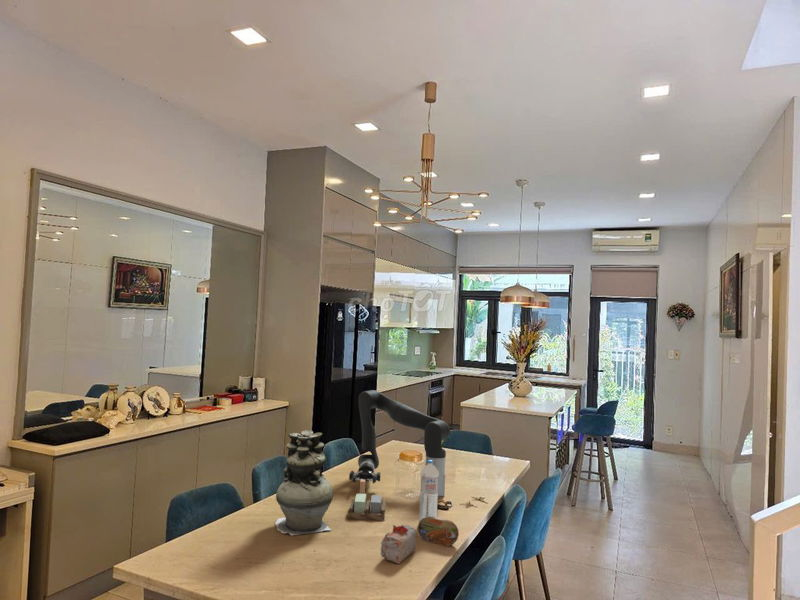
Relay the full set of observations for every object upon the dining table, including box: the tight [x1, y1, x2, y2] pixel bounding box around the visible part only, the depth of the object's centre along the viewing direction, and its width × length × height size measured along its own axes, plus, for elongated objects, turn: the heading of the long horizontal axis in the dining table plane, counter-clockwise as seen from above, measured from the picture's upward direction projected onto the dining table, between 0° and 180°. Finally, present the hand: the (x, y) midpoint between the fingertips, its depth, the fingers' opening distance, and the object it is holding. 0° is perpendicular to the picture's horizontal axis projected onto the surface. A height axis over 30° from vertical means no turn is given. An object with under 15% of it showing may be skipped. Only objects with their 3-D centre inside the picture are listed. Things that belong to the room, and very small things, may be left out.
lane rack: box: [348, 498, 386, 521], centre depth 215 cm, size 14×12×4 cm
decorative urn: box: [274, 429, 334, 536], centre depth 200 cm, size 21×21×35 cm
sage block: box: [354, 479, 367, 513], centre depth 220 cm, size 4×16×10 cm, turn 0°
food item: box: [380, 524, 417, 565], centre depth 177 cm, size 14×8×10 cm, turn 154°
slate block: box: [369, 494, 382, 514], centre depth 216 cm, size 4×9×6 cm, turn 0°
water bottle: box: [418, 460, 439, 523], centre depth 206 cm, size 7×7×25 cm
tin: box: [417, 517, 460, 547], centre depth 190 cm, size 15×3×8 cm, turn 62°
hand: (364, 480), depth 238 cm, fingers open, 8 cm apart
